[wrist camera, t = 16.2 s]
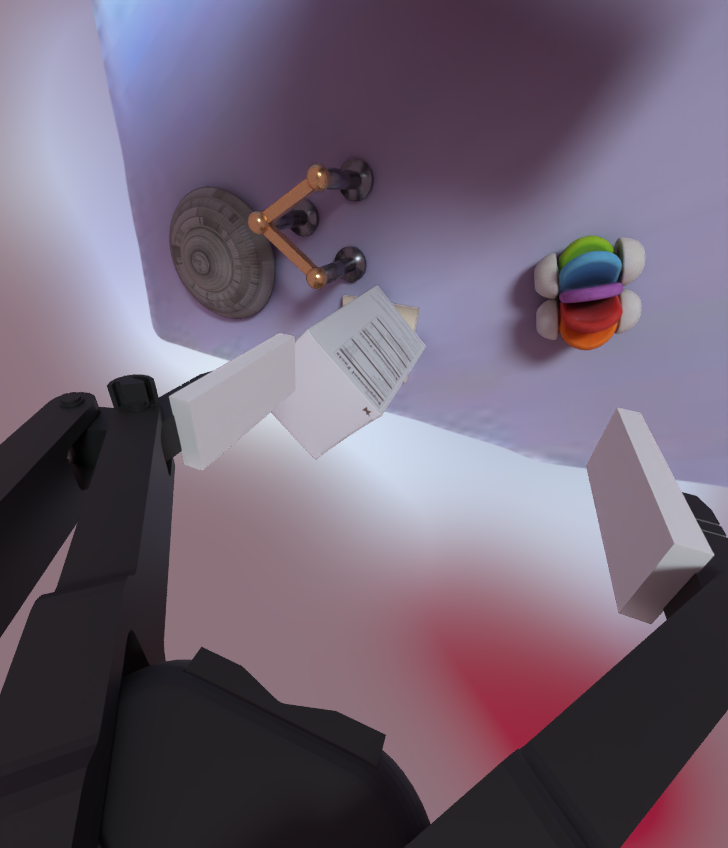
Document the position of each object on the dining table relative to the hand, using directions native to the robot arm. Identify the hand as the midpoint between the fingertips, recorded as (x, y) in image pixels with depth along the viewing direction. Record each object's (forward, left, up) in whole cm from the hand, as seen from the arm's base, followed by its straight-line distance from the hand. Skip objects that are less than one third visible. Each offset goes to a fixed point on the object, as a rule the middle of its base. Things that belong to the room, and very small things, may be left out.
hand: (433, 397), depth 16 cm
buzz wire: (-3, -18, -29) cm, 34 cm away
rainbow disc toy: (0, +9, -29) cm, 30 cm away
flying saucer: (+2, -32, -29) cm, 43 cm away
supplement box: (+9, -11, -28) cm, 31 cm away
